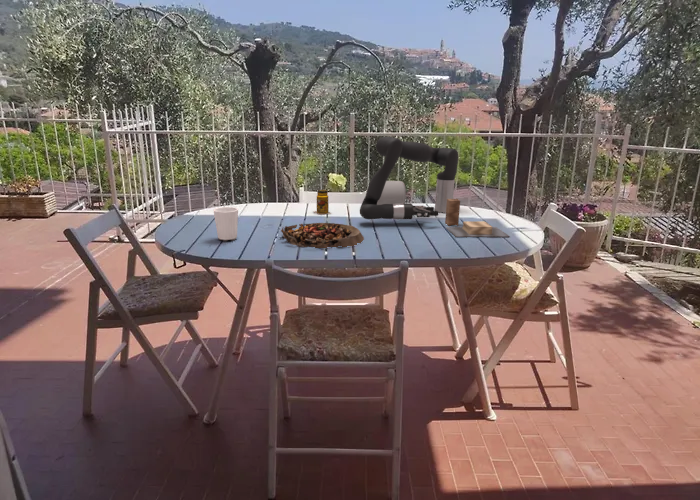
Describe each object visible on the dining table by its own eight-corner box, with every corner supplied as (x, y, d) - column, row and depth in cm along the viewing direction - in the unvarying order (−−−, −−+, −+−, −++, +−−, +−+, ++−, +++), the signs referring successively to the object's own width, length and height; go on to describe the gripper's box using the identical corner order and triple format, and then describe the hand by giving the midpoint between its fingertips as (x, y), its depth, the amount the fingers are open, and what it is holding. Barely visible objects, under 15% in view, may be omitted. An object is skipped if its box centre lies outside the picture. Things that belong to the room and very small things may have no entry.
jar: (405, 204, 255) (358, 196, 256) (401, 220, 268) (356, 212, 268) (409, 176, 265) (363, 168, 266) (404, 193, 278) (361, 186, 278)
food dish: (266, 246, 199) (265, 228, 197) (303, 229, 228) (303, 213, 226) (346, 254, 186) (346, 234, 184) (374, 235, 216) (374, 218, 214)
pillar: (447, 225, 232) (449, 200, 228) (445, 223, 237) (446, 198, 233) (458, 225, 232) (460, 200, 229) (455, 223, 237) (457, 198, 234)
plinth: (455, 237, 212) (456, 228, 211) (445, 228, 227) (446, 219, 226) (509, 237, 214) (510, 228, 212) (496, 228, 229) (497, 219, 228)
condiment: (318, 215, 249) (318, 191, 246) (313, 211, 257) (312, 188, 253) (331, 214, 252) (331, 191, 248) (326, 210, 259) (326, 188, 256)
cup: (227, 244, 197) (225, 213, 193) (210, 240, 202) (208, 210, 198) (244, 238, 205) (243, 208, 201) (227, 235, 210) (226, 205, 206)
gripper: (405, 206, 223) (440, 206, 224) (399, 200, 236) (432, 200, 238) (404, 222, 225) (439, 222, 226) (399, 215, 239) (431, 215, 240)
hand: (435, 211), depth 232 cm, fingers open, 8 cm apart
